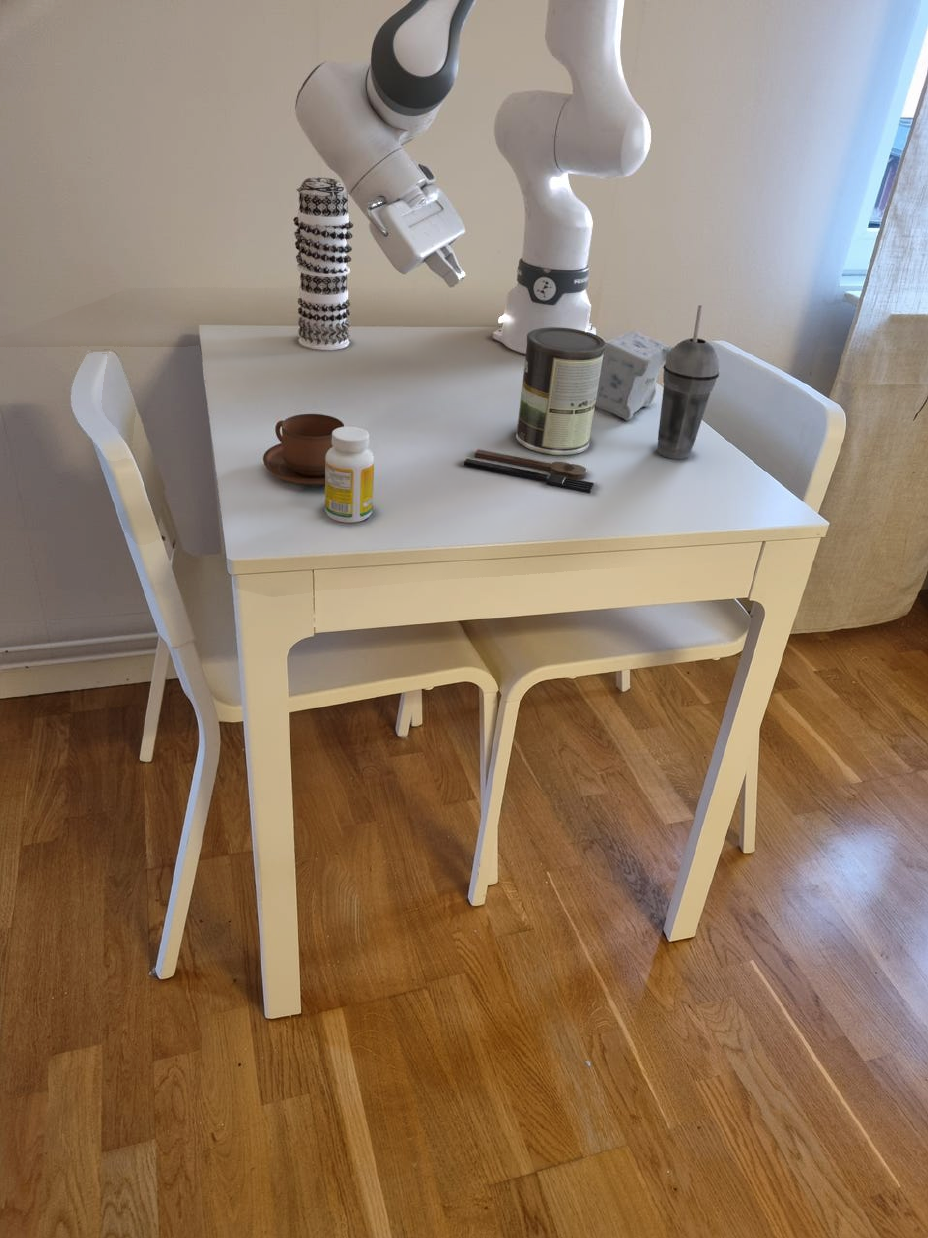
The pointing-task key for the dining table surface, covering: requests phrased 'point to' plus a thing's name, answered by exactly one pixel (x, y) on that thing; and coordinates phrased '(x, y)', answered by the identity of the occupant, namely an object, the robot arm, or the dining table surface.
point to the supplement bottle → (349, 476)
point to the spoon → (537, 464)
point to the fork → (533, 475)
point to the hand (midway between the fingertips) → (459, 282)
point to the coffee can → (559, 390)
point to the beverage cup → (686, 393)
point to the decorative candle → (323, 263)
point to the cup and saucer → (302, 448)
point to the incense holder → (630, 373)
